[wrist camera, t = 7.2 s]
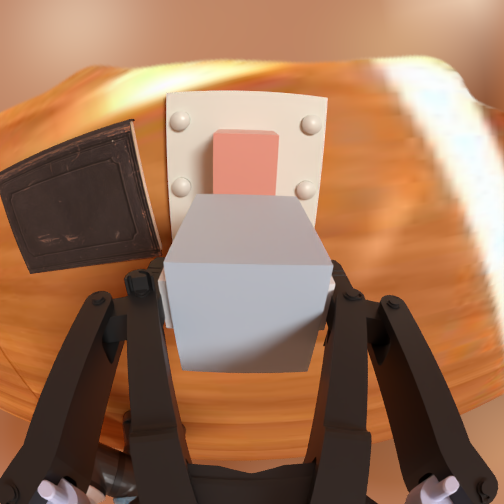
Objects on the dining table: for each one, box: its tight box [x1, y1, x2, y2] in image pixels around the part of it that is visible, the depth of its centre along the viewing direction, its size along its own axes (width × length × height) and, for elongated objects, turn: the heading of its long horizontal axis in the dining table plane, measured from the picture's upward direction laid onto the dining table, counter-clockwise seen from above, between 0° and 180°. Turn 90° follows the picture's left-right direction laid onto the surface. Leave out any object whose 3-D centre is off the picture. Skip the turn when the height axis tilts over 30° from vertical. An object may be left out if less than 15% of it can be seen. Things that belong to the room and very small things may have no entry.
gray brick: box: [163, 194, 333, 373], centre depth 15 cm, size 6×6×8 cm
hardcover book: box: [0, 119, 162, 274], centre depth 30 cm, size 16×23×2 cm
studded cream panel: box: [166, 91, 328, 242], centre depth 28 cm, size 16×20×6 cm
